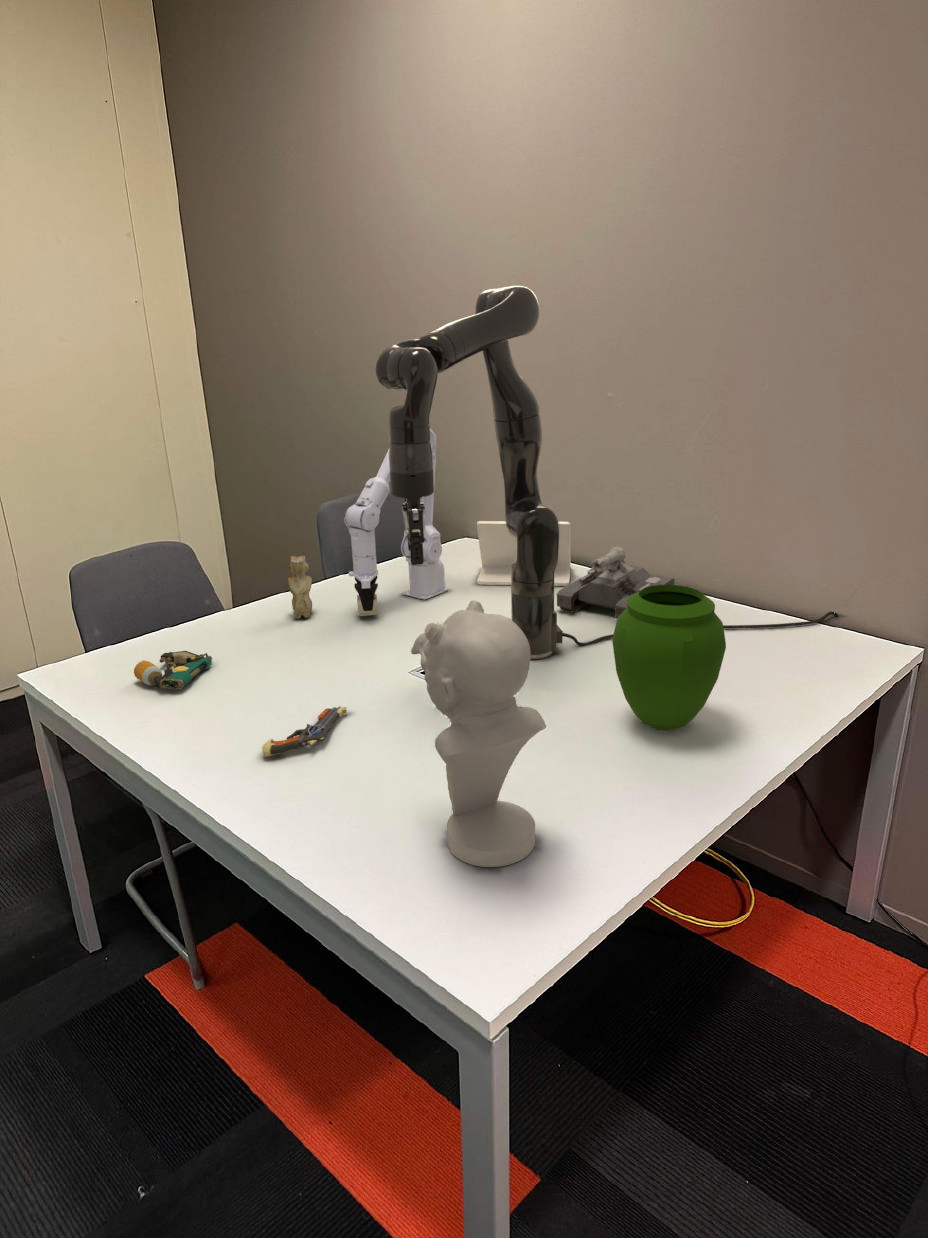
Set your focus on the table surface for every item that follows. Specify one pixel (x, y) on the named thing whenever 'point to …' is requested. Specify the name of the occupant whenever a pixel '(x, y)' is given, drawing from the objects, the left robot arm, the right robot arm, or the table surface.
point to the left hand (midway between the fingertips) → (367, 607)
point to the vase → (668, 654)
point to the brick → (367, 613)
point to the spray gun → (172, 669)
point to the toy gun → (305, 733)
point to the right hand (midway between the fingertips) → (415, 557)
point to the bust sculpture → (481, 729)
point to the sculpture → (300, 587)
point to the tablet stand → (514, 553)
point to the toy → (608, 584)
